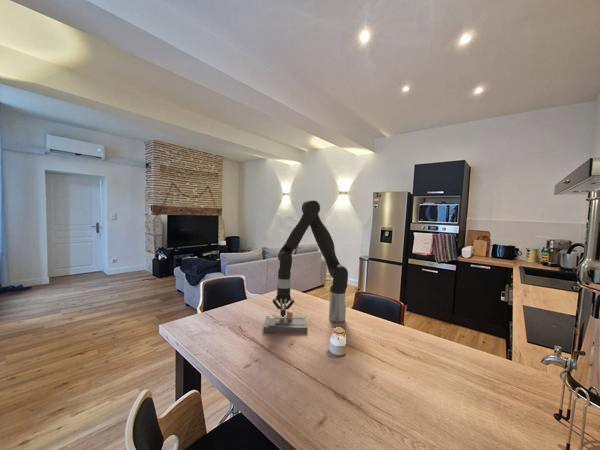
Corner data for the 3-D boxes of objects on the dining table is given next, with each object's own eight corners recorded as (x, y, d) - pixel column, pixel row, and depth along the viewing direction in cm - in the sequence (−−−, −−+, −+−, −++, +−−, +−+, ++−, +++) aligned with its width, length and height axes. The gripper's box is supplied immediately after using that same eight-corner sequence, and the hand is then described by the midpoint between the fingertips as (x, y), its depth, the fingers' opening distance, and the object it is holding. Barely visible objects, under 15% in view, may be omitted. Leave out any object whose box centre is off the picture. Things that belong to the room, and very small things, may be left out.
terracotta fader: (292, 316, 145) (292, 309, 144) (292, 319, 140) (292, 312, 140) (287, 316, 145) (287, 309, 144) (286, 319, 140) (287, 312, 140)
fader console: (305, 321, 146) (305, 316, 146) (307, 333, 132) (307, 327, 132) (265, 320, 145) (266, 315, 145) (263, 332, 131) (263, 326, 131)
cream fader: (275, 322, 136) (275, 314, 136) (275, 325, 132) (275, 318, 132) (269, 321, 136) (270, 314, 136) (269, 325, 132) (269, 318, 132)
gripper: (295, 284, 145) (294, 313, 146) (272, 283, 145) (271, 313, 146) (295, 288, 138) (294, 319, 139) (271, 287, 137) (270, 318, 138)
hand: (282, 316), depth 142 cm, fingers closed
